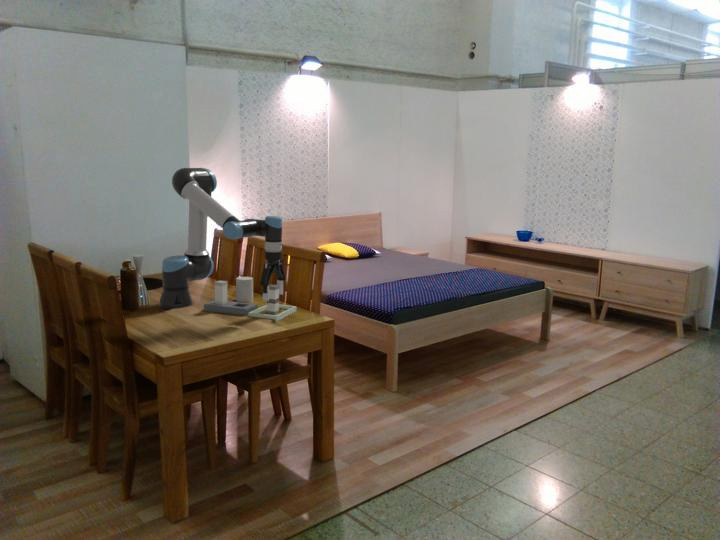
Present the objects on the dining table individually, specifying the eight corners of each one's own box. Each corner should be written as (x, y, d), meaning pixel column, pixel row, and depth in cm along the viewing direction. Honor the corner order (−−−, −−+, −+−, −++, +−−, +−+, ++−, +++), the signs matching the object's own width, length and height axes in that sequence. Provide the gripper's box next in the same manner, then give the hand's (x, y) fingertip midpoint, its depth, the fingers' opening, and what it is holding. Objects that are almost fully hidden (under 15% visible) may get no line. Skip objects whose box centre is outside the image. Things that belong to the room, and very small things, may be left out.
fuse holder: (204, 312, 277) (203, 303, 276) (216, 307, 286) (216, 299, 286) (246, 317, 270) (246, 309, 269) (257, 312, 279) (257, 304, 279)
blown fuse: (266, 314, 275) (266, 286, 273) (271, 312, 279) (271, 284, 277) (275, 315, 274) (275, 286, 272) (279, 313, 278) (279, 285, 276)
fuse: (214, 309, 278) (214, 282, 276) (219, 307, 282) (219, 280, 280) (222, 310, 277) (222, 282, 275) (227, 308, 281) (227, 281, 279)
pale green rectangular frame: (248, 318, 270) (248, 312, 269) (269, 308, 288) (269, 303, 288) (276, 321, 265) (276, 316, 265) (296, 311, 284) (296, 306, 283)
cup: (241, 304, 294) (241, 280, 292) (233, 301, 300) (233, 277, 298) (256, 302, 299) (256, 278, 297) (247, 299, 305) (247, 276, 303)
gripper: (267, 255, 259) (267, 303, 262) (293, 248, 282) (292, 292, 286) (252, 253, 261) (252, 301, 265) (278, 246, 284) (278, 291, 288)
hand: (273, 297), depth 275 cm, fingers open, 13 cm apart
